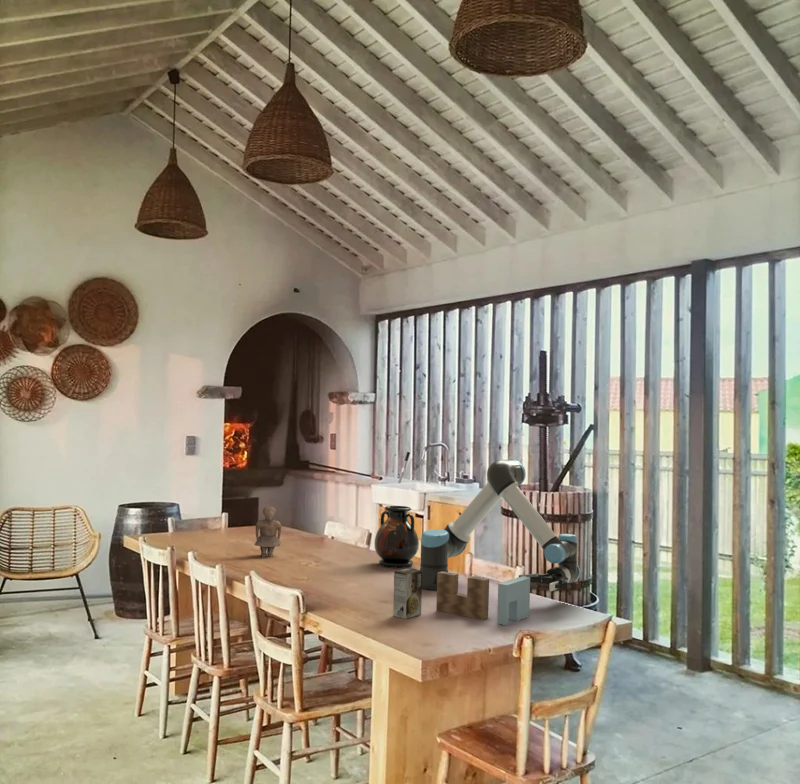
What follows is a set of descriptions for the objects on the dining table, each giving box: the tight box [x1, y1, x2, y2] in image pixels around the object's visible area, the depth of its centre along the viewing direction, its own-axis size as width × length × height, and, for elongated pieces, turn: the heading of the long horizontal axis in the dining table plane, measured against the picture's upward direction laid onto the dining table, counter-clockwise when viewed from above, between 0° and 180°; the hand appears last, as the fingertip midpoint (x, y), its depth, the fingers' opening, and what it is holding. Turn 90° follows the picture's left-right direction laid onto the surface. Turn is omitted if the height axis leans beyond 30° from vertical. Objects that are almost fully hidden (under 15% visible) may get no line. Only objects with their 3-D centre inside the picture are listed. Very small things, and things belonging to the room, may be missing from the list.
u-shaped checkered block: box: [436, 571, 490, 621], centre depth 290 cm, size 20×4×14 cm, turn 54°
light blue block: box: [496, 576, 531, 626], centre depth 285 cm, size 4×18×14 cm, turn 144°
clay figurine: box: [254, 505, 282, 558], centre depth 396 cm, size 13×10×25 cm
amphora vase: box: [374, 505, 420, 569], centre depth 383 cm, size 22×22×28 cm
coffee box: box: [392, 567, 423, 620], centre depth 286 cm, size 9×6×16 cm
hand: (533, 585), depth 297 cm, fingers open, 13 cm apart
